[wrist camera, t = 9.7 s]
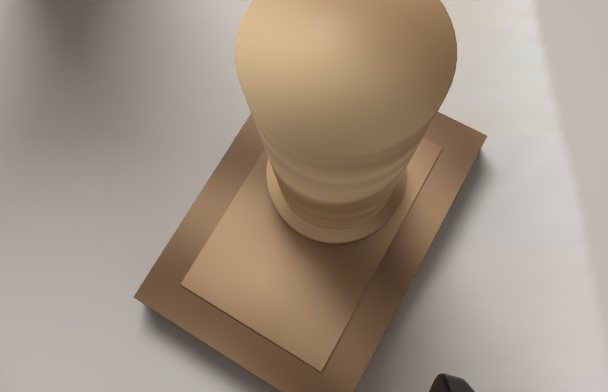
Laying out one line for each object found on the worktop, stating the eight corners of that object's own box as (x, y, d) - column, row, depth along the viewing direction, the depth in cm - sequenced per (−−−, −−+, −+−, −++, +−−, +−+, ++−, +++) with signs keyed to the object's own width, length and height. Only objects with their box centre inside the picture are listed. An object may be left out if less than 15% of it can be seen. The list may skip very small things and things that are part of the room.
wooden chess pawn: (363, 270, 20) (403, 225, 9) (244, 202, 21) (162, 95, 10) (426, 153, 21) (524, 0, 10) (311, 94, 22) (296, -99, 11)
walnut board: (335, 419, 19) (335, 427, 18) (144, 297, 21) (132, 297, 20) (479, 145, 22) (487, 135, 21) (298, 56, 24) (296, 42, 22)
